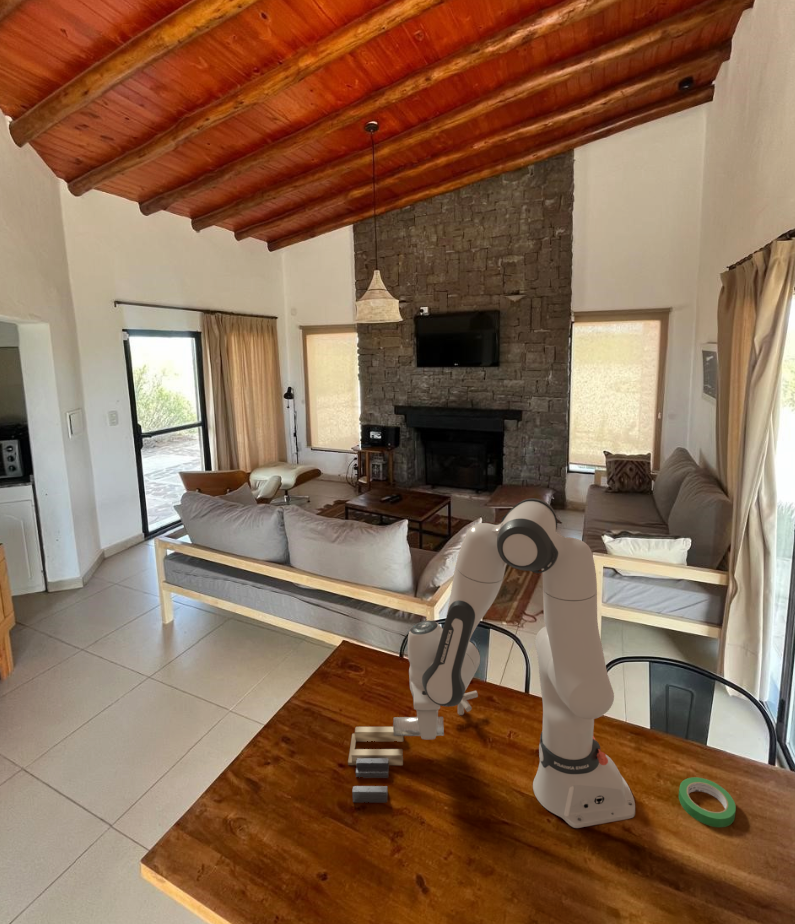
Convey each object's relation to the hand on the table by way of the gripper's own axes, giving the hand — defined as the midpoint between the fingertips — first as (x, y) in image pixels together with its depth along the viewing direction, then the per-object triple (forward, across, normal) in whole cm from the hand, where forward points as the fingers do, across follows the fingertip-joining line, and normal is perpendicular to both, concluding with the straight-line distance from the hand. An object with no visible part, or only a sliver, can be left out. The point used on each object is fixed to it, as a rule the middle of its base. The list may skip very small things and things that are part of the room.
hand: (429, 727), depth 135 cm
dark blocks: (+6, +12, -14) cm, 20 cm away
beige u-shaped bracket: (+6, +1, -14) cm, 15 cm away
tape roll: (+9, +15, +63) cm, 65 cm away
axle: (0, 0, -3) cm, 3 cm away
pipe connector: (+7, -14, +9) cm, 18 cm away
